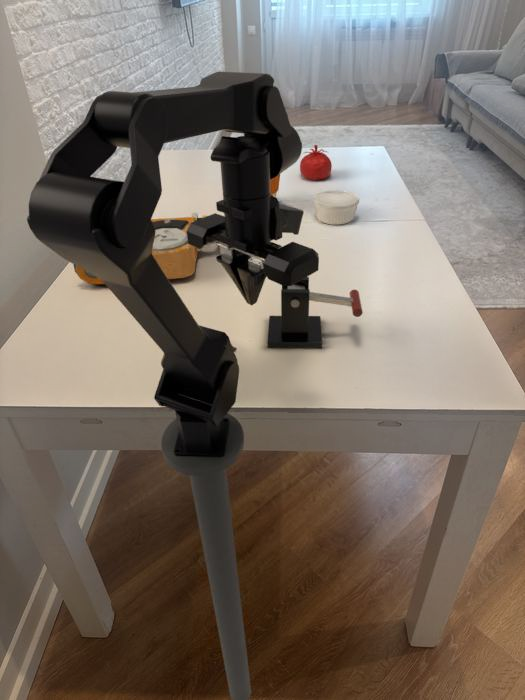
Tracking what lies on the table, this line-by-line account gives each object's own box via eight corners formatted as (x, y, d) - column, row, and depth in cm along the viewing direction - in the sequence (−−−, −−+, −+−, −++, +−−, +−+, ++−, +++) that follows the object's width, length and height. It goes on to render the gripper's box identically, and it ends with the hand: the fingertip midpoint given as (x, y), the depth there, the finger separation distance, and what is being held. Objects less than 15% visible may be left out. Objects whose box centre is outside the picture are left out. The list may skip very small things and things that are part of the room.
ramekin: (354, 209, 128) (356, 189, 125) (360, 226, 119) (362, 205, 116) (311, 210, 129) (312, 190, 126) (314, 227, 120) (314, 206, 117)
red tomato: (310, 184, 144) (311, 152, 139) (293, 175, 152) (293, 144, 146) (338, 178, 148) (340, 146, 142) (320, 170, 155) (321, 139, 149)
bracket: (320, 321, 87) (322, 272, 81) (321, 348, 81) (324, 297, 75) (269, 321, 88) (268, 272, 82) (267, 348, 81) (265, 297, 75)
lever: (356, 300, 83) (360, 287, 81) (360, 319, 78) (364, 307, 77) (285, 289, 82) (288, 277, 81) (285, 308, 78) (287, 296, 76)
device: (91, 209, 111) (223, 202, 112) (100, 243, 116) (226, 236, 117) (65, 254, 93) (223, 245, 94) (77, 291, 98) (226, 283, 99)
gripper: (350, 190, 58) (341, 303, 67) (240, 161, 68) (246, 262, 78) (288, 219, 52) (287, 339, 61) (177, 182, 62) (191, 289, 72)
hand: (252, 303), depth 68 cm, fingers closed
